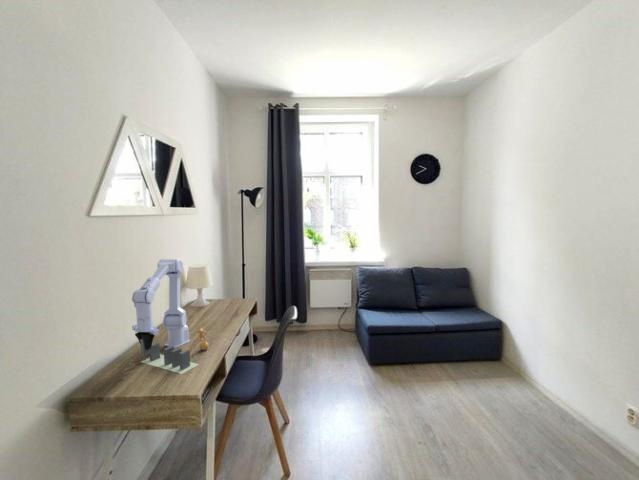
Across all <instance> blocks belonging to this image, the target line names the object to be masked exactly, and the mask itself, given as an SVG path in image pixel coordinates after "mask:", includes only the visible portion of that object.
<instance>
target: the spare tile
mask: <svg viewBox="0 0 639 480" xmlns="http://www.w3.org/2000/svg"><path fill="white" fill-rule="evenodd" d="M140 343H141V345H140V355H141V356H142V357H145V356H148V355H150V353H152V346H151V348H150V349H148V350H146V349H145V345H144V341H143V339H140V342H139V344H140Z"/></svg>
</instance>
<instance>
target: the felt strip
mask: <svg viewBox="0 0 639 480" xmlns="http://www.w3.org/2000/svg"><path fill="white" fill-rule="evenodd" d="M141 363H142V364H146V365H150V366H153V367H157V368H160V369H163V370H167V371H169V372H170V371H171V372H173V373H177V374H180V375H183V374H184V373H186V372H188V371H190V370H191V369H193V368H195V367H197V366H199V364H198V363H196V362H191V361H190V366H189V367H187V368H185V369H184V370H182V369H180V365H179V366H177V367H175V368H174V367H172V363H171V364H169V365H164V354H161V353H160V358H159V359H156V360H154V361H150V357H148V358H146V359H145V360H142V361H141Z"/></svg>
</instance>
